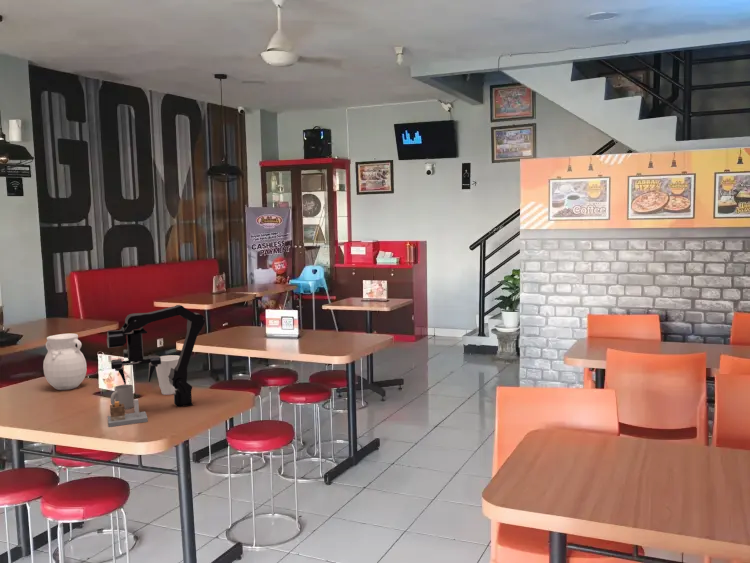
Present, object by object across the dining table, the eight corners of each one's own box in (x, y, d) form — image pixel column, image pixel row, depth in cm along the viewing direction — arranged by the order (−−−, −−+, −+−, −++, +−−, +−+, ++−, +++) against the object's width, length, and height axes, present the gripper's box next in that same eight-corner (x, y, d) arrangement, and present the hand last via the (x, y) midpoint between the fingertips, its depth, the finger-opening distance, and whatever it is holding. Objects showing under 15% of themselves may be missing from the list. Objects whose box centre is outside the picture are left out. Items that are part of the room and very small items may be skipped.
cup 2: (158, 390, 301) (157, 355, 300) (185, 388, 303) (183, 354, 301) (153, 396, 290) (151, 361, 288) (180, 395, 291) (178, 360, 289)
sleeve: (124, 415, 256) (123, 403, 256) (125, 419, 252) (124, 406, 251) (110, 417, 254) (109, 405, 254) (111, 421, 250) (110, 408, 249)
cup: (137, 406, 275) (136, 385, 274) (117, 412, 266) (115, 391, 265) (126, 404, 278) (125, 383, 278) (106, 410, 270) (104, 389, 269)
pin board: (145, 415, 262) (144, 395, 261) (147, 421, 253) (146, 401, 252) (107, 420, 256) (106, 400, 255) (108, 427, 247) (107, 406, 246)
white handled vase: (35, 392, 302) (31, 339, 300) (61, 382, 320) (57, 332, 318) (72, 393, 299) (68, 339, 297) (95, 383, 317) (92, 332, 315)
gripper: (157, 339, 275) (159, 376, 276) (109, 344, 268) (111, 381, 269) (160, 344, 265) (162, 381, 266) (110, 348, 257) (112, 387, 259)
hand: (137, 383), depth 265 cm, fingers open, 9 cm apart
